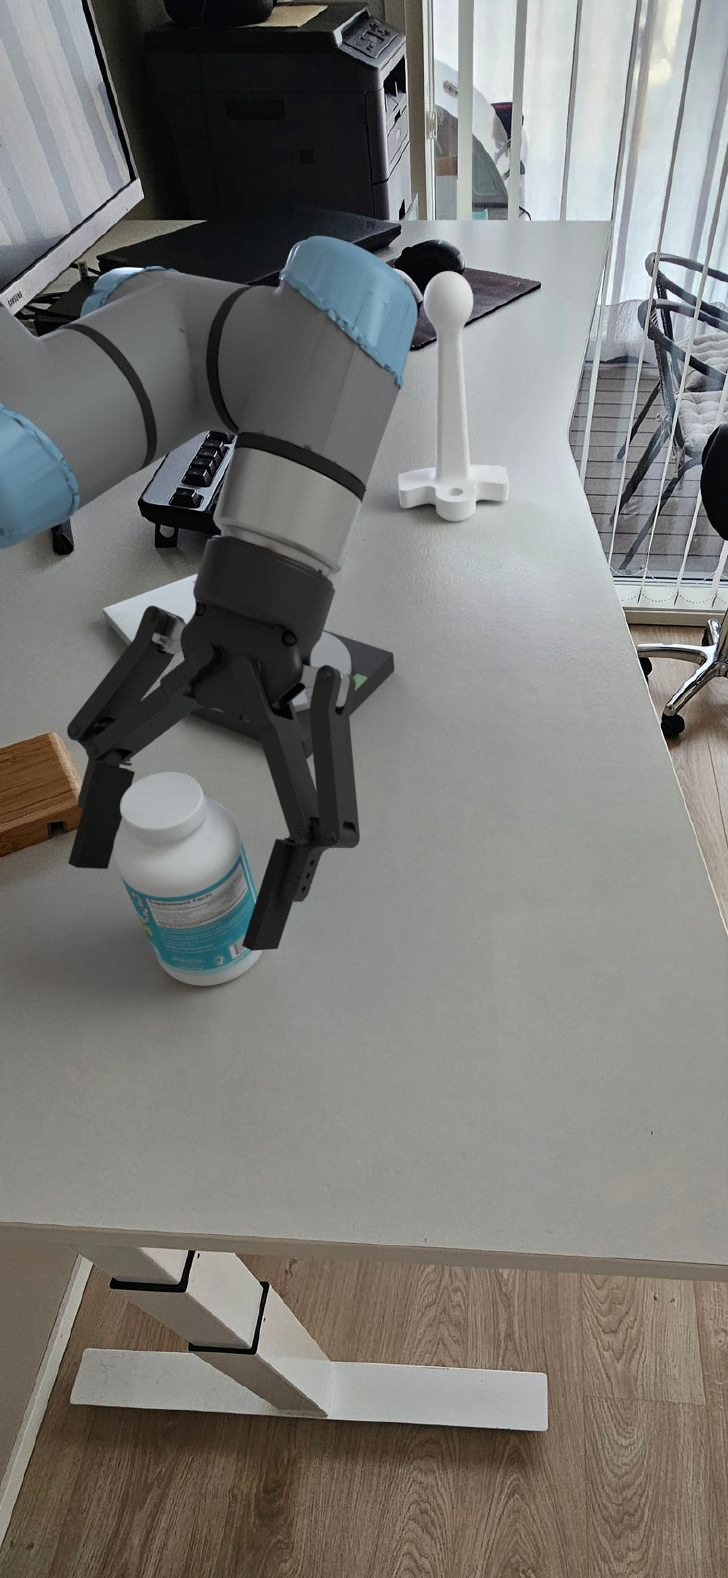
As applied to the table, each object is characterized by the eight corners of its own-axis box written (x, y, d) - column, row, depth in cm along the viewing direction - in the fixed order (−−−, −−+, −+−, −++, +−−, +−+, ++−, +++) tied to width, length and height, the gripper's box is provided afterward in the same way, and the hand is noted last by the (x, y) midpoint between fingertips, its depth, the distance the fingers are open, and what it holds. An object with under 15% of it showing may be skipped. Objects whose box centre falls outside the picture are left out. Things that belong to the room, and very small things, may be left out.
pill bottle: (167, 906, 68) (108, 756, 58) (273, 903, 68) (234, 751, 58) (149, 994, 64) (82, 847, 53) (263, 990, 64) (218, 843, 53)
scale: (179, 710, 82) (171, 685, 80) (272, 629, 89) (268, 604, 87) (306, 759, 78) (302, 734, 76) (395, 670, 84) (392, 645, 82)
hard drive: (106, 623, 90) (227, 576, 94) (143, 665, 86) (268, 615, 90) (100, 606, 89) (223, 560, 93) (138, 649, 85) (265, 598, 89)
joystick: (504, 483, 103) (507, 259, 88) (512, 519, 99) (518, 291, 83) (398, 490, 103) (383, 268, 88) (402, 527, 99) (386, 299, 83)
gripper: (490, 632, 55) (370, 980, 59) (151, 528, 64) (65, 839, 68) (439, 593, 48) (306, 990, 52) (65, 482, 57) (-24, 832, 61)
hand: (170, 906), depth 60 cm, fingers open, 13 cm apart
